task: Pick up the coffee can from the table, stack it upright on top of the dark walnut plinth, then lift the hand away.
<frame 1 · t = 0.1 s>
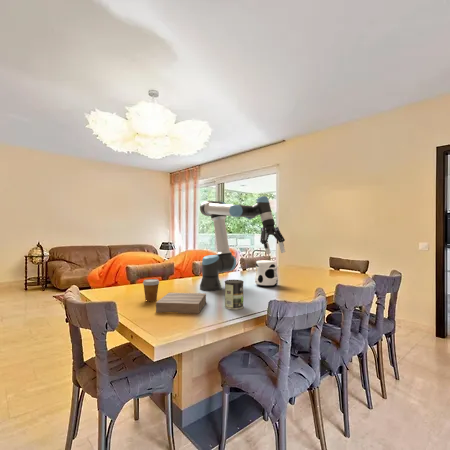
hand: (276, 253, 170), 28 cm above the table, tool tilted 20°, fingers open, 13 cm apart
milk container: (266, 285, 209), on the table
walnut plinth: (182, 306, 152), on the table
coffee can: (234, 307, 153), on the table
disposable coffee cup: (151, 300, 166), on the table
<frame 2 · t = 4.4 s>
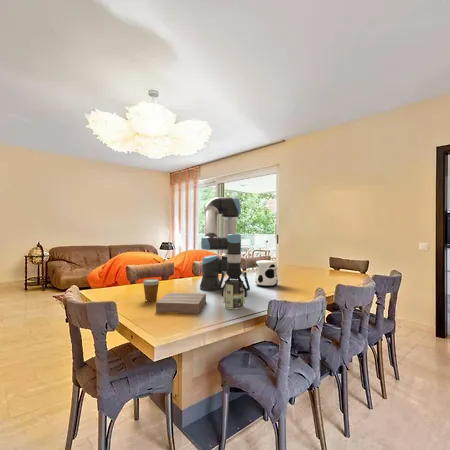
hand: (234, 302, 153), 2 cm above the table, tool pointing down, fingers closed on coffee can, 10 cm apart
coffee can: (234, 307, 153), on the table, touching gripper
everything else where it was.
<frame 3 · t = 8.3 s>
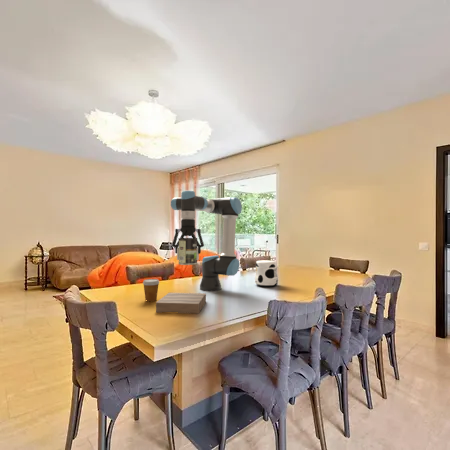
hand: (187, 259, 153), 26 cm above the table, tool pointing down, fingers closed on coffee can, 10 cm apart
coffee can: (187, 264, 153), point 23 cm above the table, touching gripper
everything else where it was.
when the fingers open (9 cm above the table, at t = 12.5 s): coffee can drops 1 cm, resting on walnut plinth.
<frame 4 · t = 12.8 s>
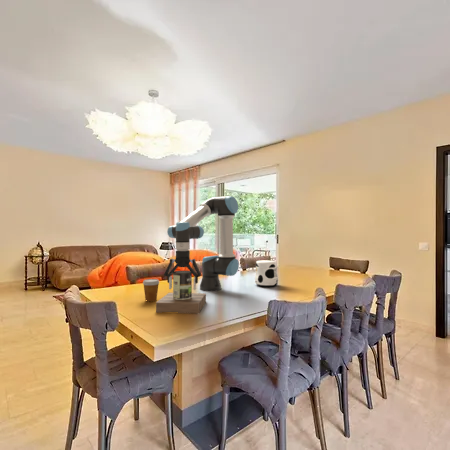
hand: (182, 289, 153), 10 cm above the table, tool pointing down, fingers open, 13 cm apart
coffee can: (182, 298, 153), point 5 cm above the table, touching walnut plinth
everything else where it was.
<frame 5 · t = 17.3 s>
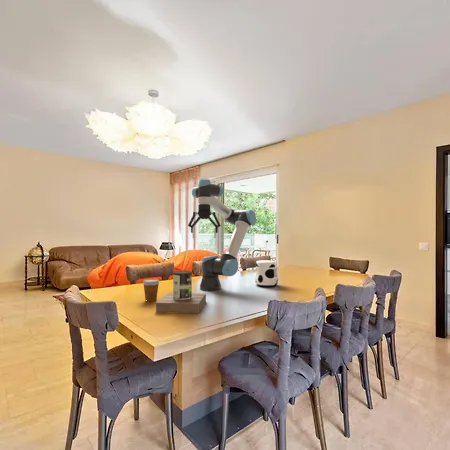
hand: (204, 238, 174), 37 cm above the table, tool pointing down, fingers open, 13 cm apart
nothing on the table moved.
at the end: coffee can inside the target area on the walnut plinth (0.1 cm from its centre), point 4.8 cm above the walnut plinth's base; coffee can tilted 0°; the gripper is holding nothing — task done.
